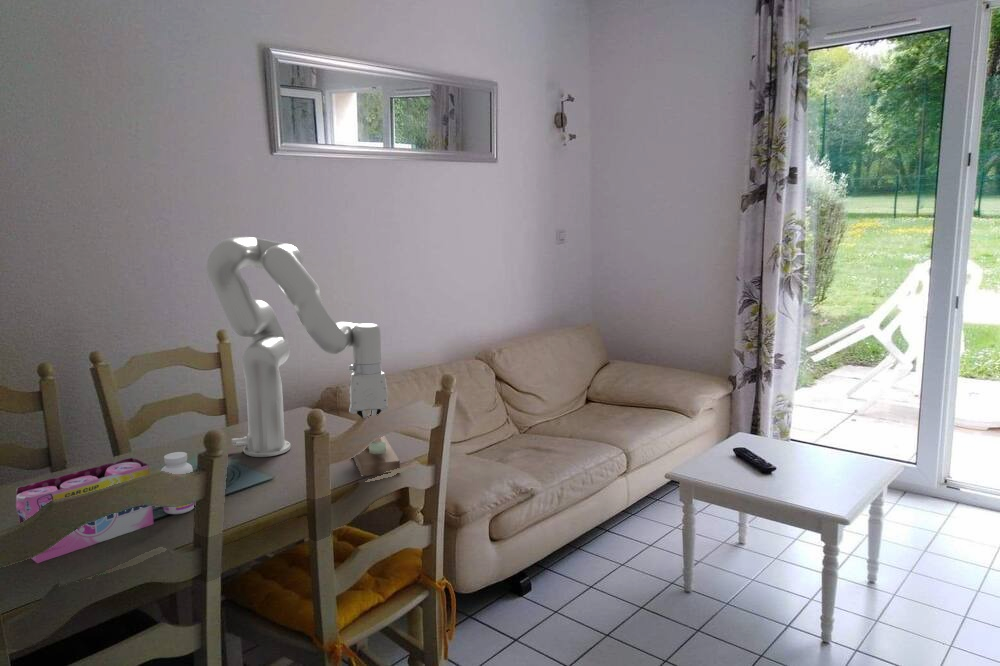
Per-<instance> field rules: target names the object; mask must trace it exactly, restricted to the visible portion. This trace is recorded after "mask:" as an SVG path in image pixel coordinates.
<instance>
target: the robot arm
mask: <svg viewBox="0 0 1000 666" xmlns="http://www.w3.org/2000/svg"><path fill="white" fill-rule="evenodd" d="M205 267H206V268H205V269H206V273H207V278H208V279H209V282H210V284H211V286H212V289H213V291H214V292H215V295H216V296H217V300H218V302H219V304H220V307H221V309H222V311H223V313H224V315H225V319H226V320H227V322H228V324H229V326H230V328H231V330H232V332H233V333H234V334H235V335H236V336H238V337H240V338H242V339H249V338H250V339H251V343H250V344H248V346H247V347H246V348H245V350H243V353H242V356H241V357H242V358H241V365H242V370H243V376H244V381H245V393H246V394H245V395H246V409H247V410H246V411H247V427H248V428H247V429H248V433H247V435H246V436H243V437H240V438H239V437H236V438H235V437H234V438H231V446H236V448H239V447H240V448H241V447H243V453H244V454H245V455H247V456H250V457H255V458H269V457H276V456H280V455H282V454H285V453H287V452H289V450H291V445H292V444H291V442H289V441H288V440H286V439H285V419H284V416H285V415H284V400H283V399H284V398H283V396H284V395H283V384H282V378H281V374H280V367H281V366H282V365H284V364H285V363H286V362H287V360H288V359H289V357H290V353H291V348H290V344H289V340H288V338H287V336H286V334H285V331H284V330H283V327H282V325H281V323H280V320H279V318H278V316H277V314H276V312H275V311H274V308H273V307H272V306H271V305H270V304H269V303H267V302H266V301H264V300H261V299H255V298H254V296H253V294H252V291H251V290H250V286H249V285H248V283H247V280H245V278H244V277H243V276H242V274H241V270H242V269H245V268H254V269H259V270H260V269H261V270H265V271H266V273H267V274H268V276H269V277H270V278H271V279H272V280H273V282H274V283H275V284H276V285H277V286H278V288H279V289H280V291H282V293H283V294H284V295H285V296H286V298H287V299H288V300H289V302H290V303H291V304H292V306H293V307H294V311H295V313H296V315H297V316H298V318H299V320H300V322H301V324H302V326H303V328H304V329H305V331H306V333H307V334H308V335H309V337H311V339H312V340H313V341H314V342H315V344H316V345H317V346H318V347H319V348H320V349H321V350H322V351H323V352H325V353H326V354H328V355H329V354H330V355H339V354H341V353H343V352H344V351H345V350H347V349H350V348H352V354H353V355H352V356H353V362H352V364H350V365H348V369H347V370H348V371H352V373H351V376H350V382H349V395H348V396H349V398H348V399H349V409H348V412H349V414H352V415H358V416H359V417H360V418H361V419H363V418H365V417H368V418H369V416H373V415H377V414H378V415H380V414H381V413H382V412H385V411H388V410H389V406H388V405H389V404H388V402H389V398H388V386H387V379H386V374H385V372H384V371H382V350H381V349H382V345H381V344H382V343H381V342H382V341H381V338H382V337H381V328H380V326H379V324H376V323H373V322H372V323H370V322H367V323H366V322H365V323H353V322H348V321H338V322H337V321H336V322H335V321H334V320H333V317H331V316H330V314H329V313H328V311H327V310H326V308H325V306H324V304H323V300H322V294H321V293H322V292H321V289H320V286H319V285H318V283H317V282H316V280H314V278H313V277H312V276H311V274H310V273H308V272H309V271H307V269H306V268H305V267H304V265H303V256H302V253H301V251H300V250H299V248H298V247H296V246H294V245H293V244H290V243H286V242H285V243H284V242H279V241H275V240H269V239H264V238H258V237H253V236H234V237H229V238H225V239H223V240H220V241H219V242H218V243H217V244H215V245H214V246H213V248H212V249H211V251H210V252H209V254H208V256H207V259H206V266H205ZM367 411H370V413H369V416H368V414H367ZM378 415H377V416H378Z"/></svg>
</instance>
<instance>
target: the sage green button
mask: <svg viewBox="0 0 1000 666" xmlns="http://www.w3.org/2000/svg"><path fill="white" fill-rule="evenodd" d="M369 452H370V453H372V454H382V453H385V452H386V443H385V442H382V441H375V442H372V443H371V444H369Z"/></svg>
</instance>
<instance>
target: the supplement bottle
mask: <svg viewBox="0 0 1000 666" xmlns="http://www.w3.org/2000/svg"><path fill="white" fill-rule="evenodd" d="M187 461H188V453H187V452H184V451H175V452H170V453H167V454H165V455H164V456H163V462H164V464H165V465H164V466H163V467H162V468H161V470H160V472H161V471H165V472H169V473H172V474H186V473H190V472H193V473H194V468H193V465H191V464H190V463H189V462H187ZM162 509H163V512H165V513H166V514H168V515H181V514H185V513H188V512H191V511H192V510H193V509H195V507H194V503H191V504H187V505H183V506H178V507H163V506H162Z"/></svg>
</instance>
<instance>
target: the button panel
mask: <svg viewBox="0 0 1000 666" xmlns="http://www.w3.org/2000/svg"><path fill="white" fill-rule="evenodd" d="M381 441H382V442H385V443H386V452H385V453H382V454H372V453H370V452H369V449H365V450H364V451H362V452H361V453H360V454H358V455H356V456H355V457H354V458H353V461H354V460H355V461H354V462H356V463H355V465H356V464H357V465H356V467H357V466H358V468H359V470H358V471H360V472H359V474H360V473H361V474H360V476H361V475H366V476H367V477H368V476H376V475H382V474H381V473H384V472H386V471H390V470H394V469H397V468H400V469H401V461H400V458H399V457H398V456H397V454H396V451H394V449H393V447H392V446H391V444H390V443H389V441H388V440H387V438H386V436H385V435H384V436H383V437H381ZM358 468H357V469H358ZM366 476H365V477H366Z"/></svg>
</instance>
